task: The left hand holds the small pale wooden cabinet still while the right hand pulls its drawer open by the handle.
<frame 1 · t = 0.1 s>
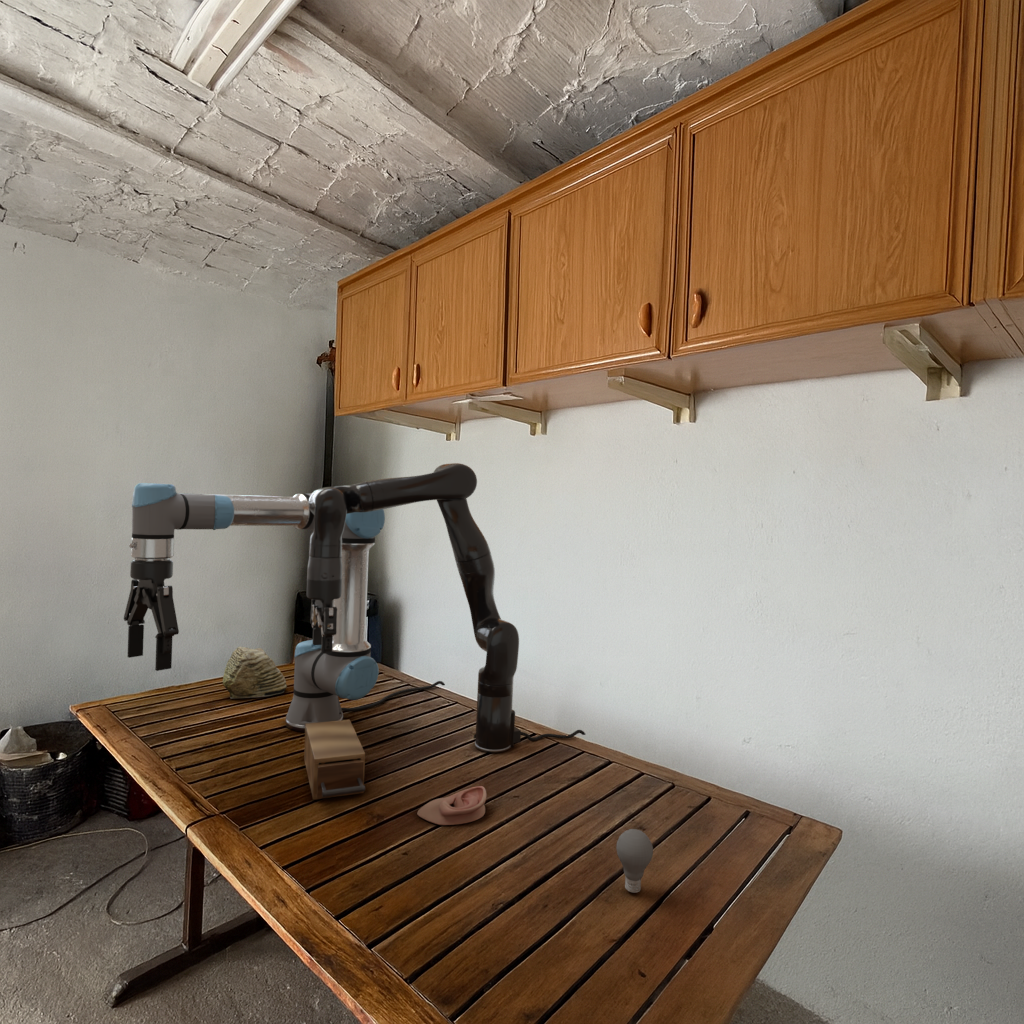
left hand: (148, 662, 129), 28 cm above the table, tool pointing down, fingers open, 13 cm apart
right hand: (322, 648, 142), 29 cm above the table, tool pointing down, fingers open, 8 cm apart
fossil: (254, 694, 198), on the table
drawer: (335, 765, 140), point 4 cm above the table, slide at 0.7 cm
cabinet: (332, 774, 144), on the table
anatomical model: (452, 813, 129), on the table
light bulb: (632, 891, 106), on the table
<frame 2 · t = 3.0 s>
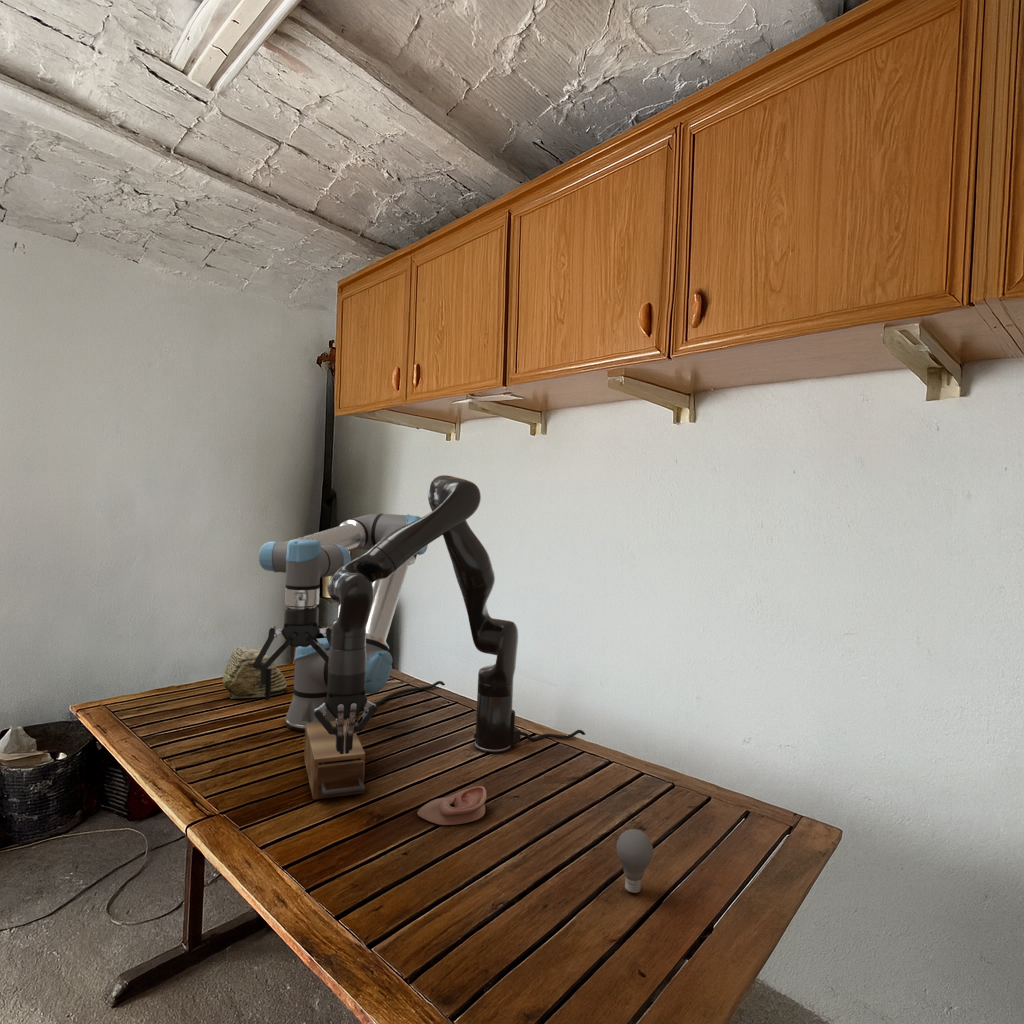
left hand: (298, 697, 147), 16 cm above the table, tool pointing down, fingers open, 13 cm apart
right hand: (343, 752, 130), 11 cm above the table, tool pointing down, fingers closed
nothing on the table moved.
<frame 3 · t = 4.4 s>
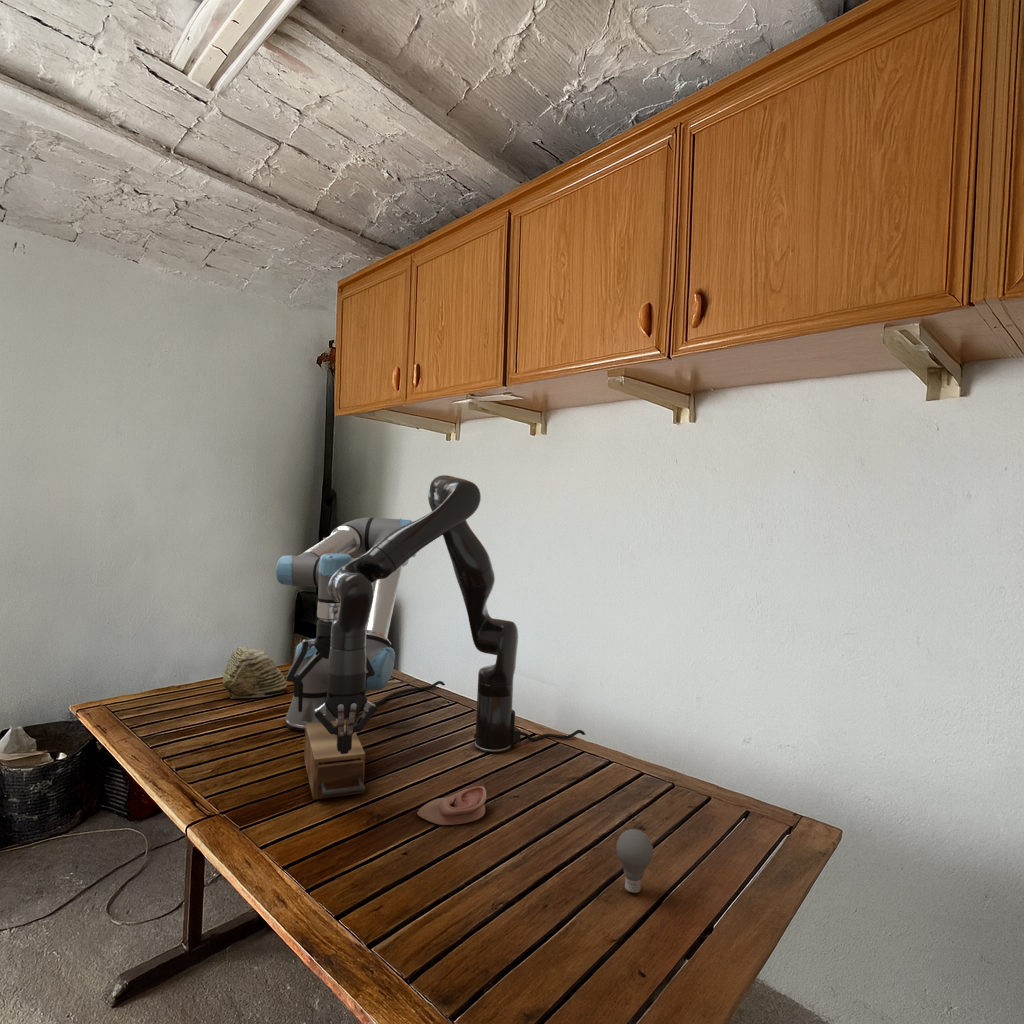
left hand: (329, 707, 151), 13 cm above the table, tool pointing down, fingers open, 13 cm apart
right hand: (343, 752, 130), 11 cm above the table, tool pointing down, fingers closed
nothing on the table moved.
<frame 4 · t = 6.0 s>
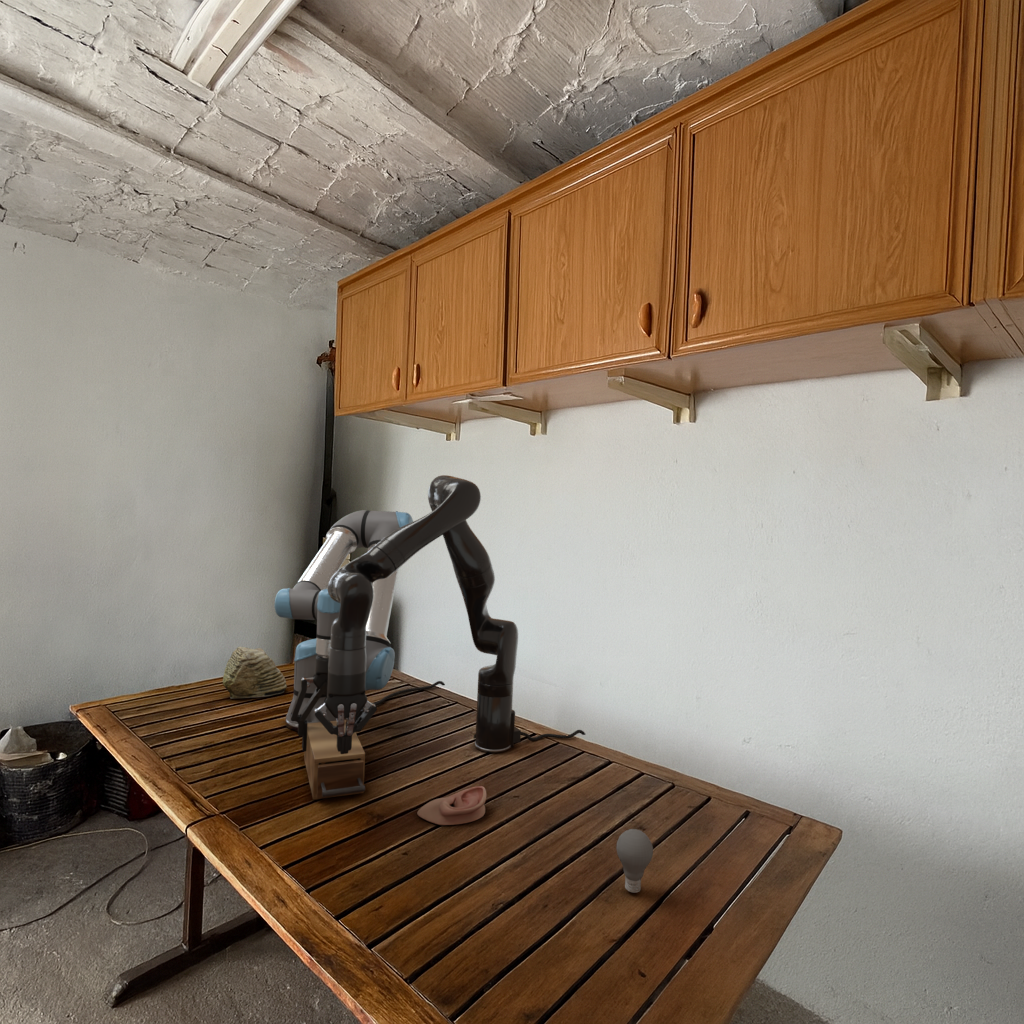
left hand: (328, 746, 151), 4 cm above the table, tool pointing down, fingers closed on cabinet, 10 cm apart
right hand: (343, 752, 130), 11 cm above the table, tool pointing down, fingers closed
cabinet: (332, 774, 144), on the table, touching left hand
everything else where it was.
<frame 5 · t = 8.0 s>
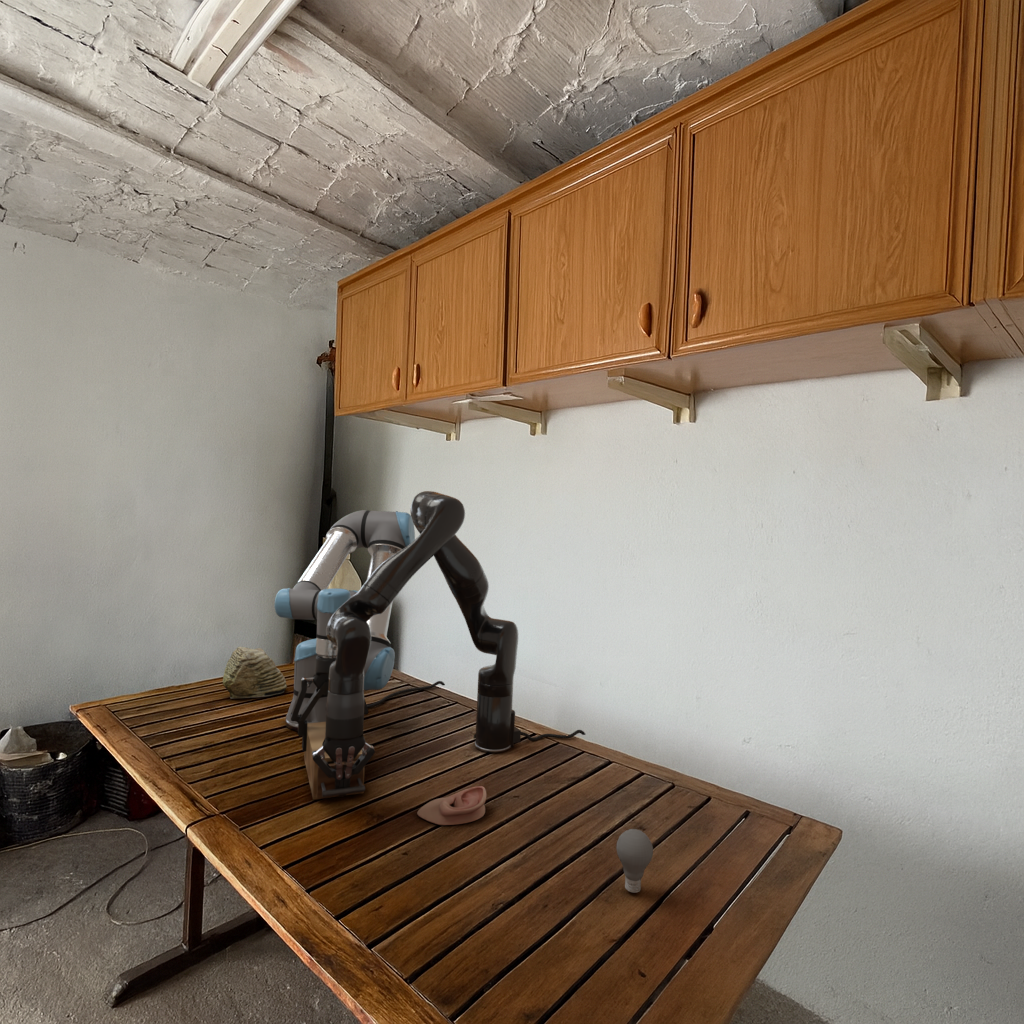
left hand: (328, 746, 151), 4 cm above the table, tool pointing down, fingers closed on cabinet, 10 cm apart
right hand: (342, 794, 130), 3 cm above the table, tool pointing down, fingers closed
drawer: (335, 765, 140), point 4 cm above the table, slide at 0.7 cm, touching right hand
cabinet: (332, 774, 144), on the table, touching left hand
everything else where it was.
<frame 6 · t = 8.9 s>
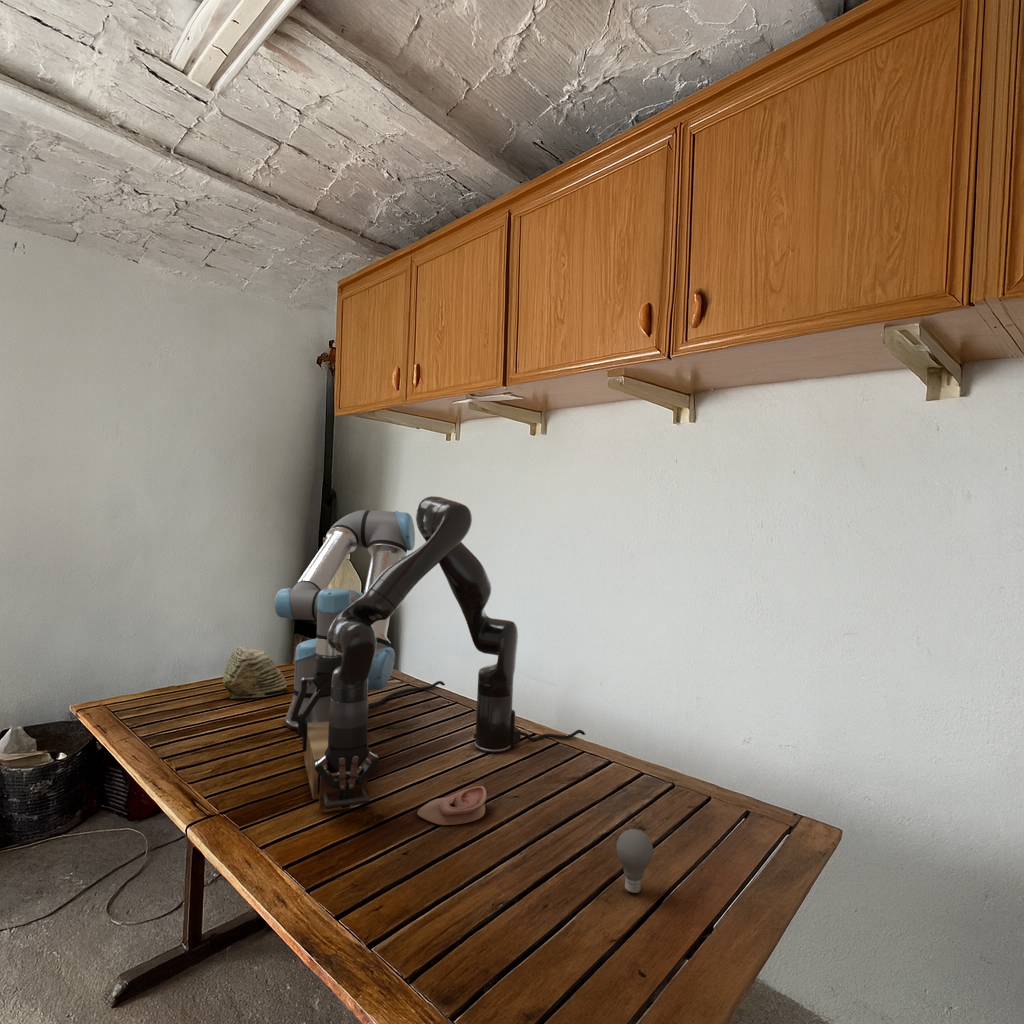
left hand: (328, 746, 151), 4 cm above the table, tool pointing down, fingers closed on cabinet, 10 cm apart
right hand: (345, 805, 125), 3 cm above the table, tool pointing down, fingers closed
drawer: (338, 774, 135), point 4 cm above the table, slide at 5.5 cm, touching right hand
cabinet: (332, 774, 144), on the table, touching left hand
everything else where it was.
when the left hand's fingers open (4 cm above the table, at t = 10.8 s): cabinet stays where it is, on the table.
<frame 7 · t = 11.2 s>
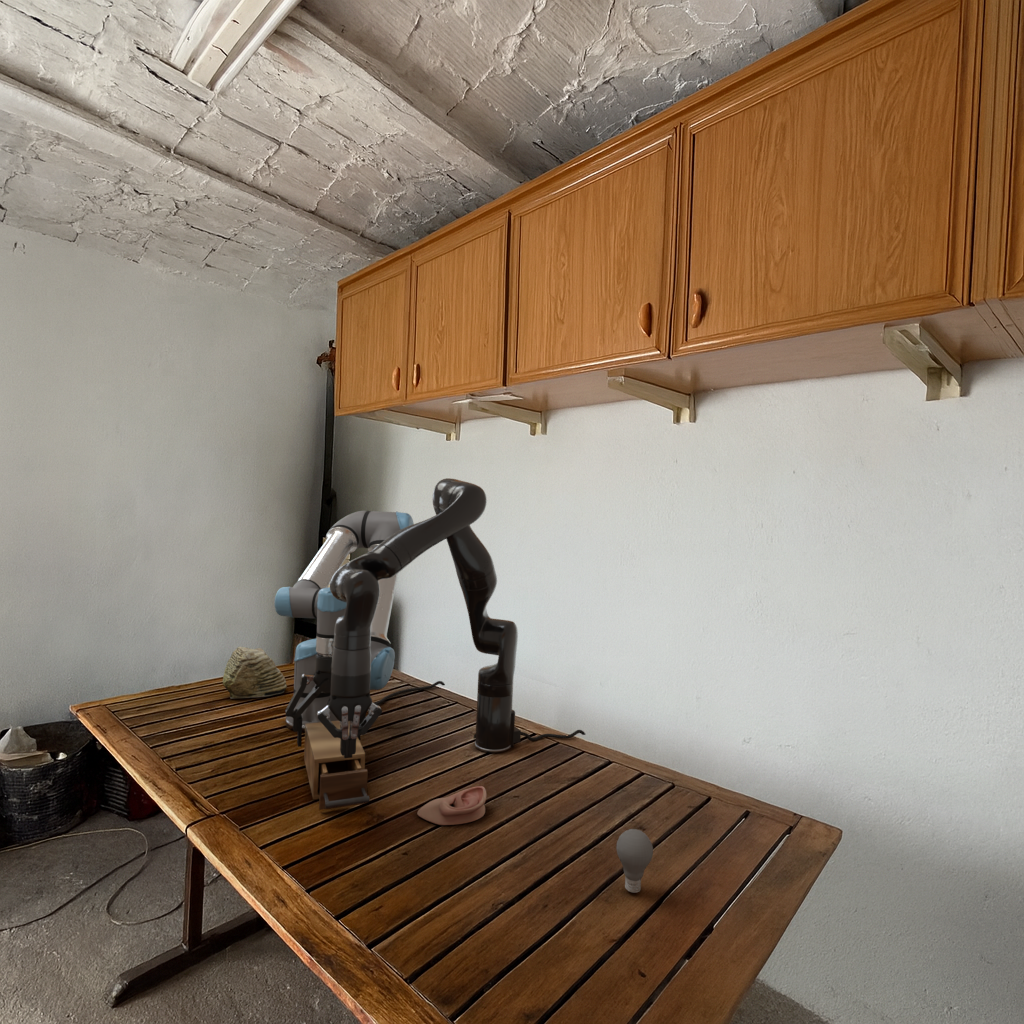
left hand: (329, 741, 151), 5 cm above the table, tool pointing down, fingers open, 13 cm apart
right hand: (347, 756, 125), 13 cm above the table, tool pointing down, fingers closed
drawer: (338, 774, 135), point 4 cm above the table, slide at 5.5 cm
cabinet: (332, 775, 144), on the table
everything else where it was.
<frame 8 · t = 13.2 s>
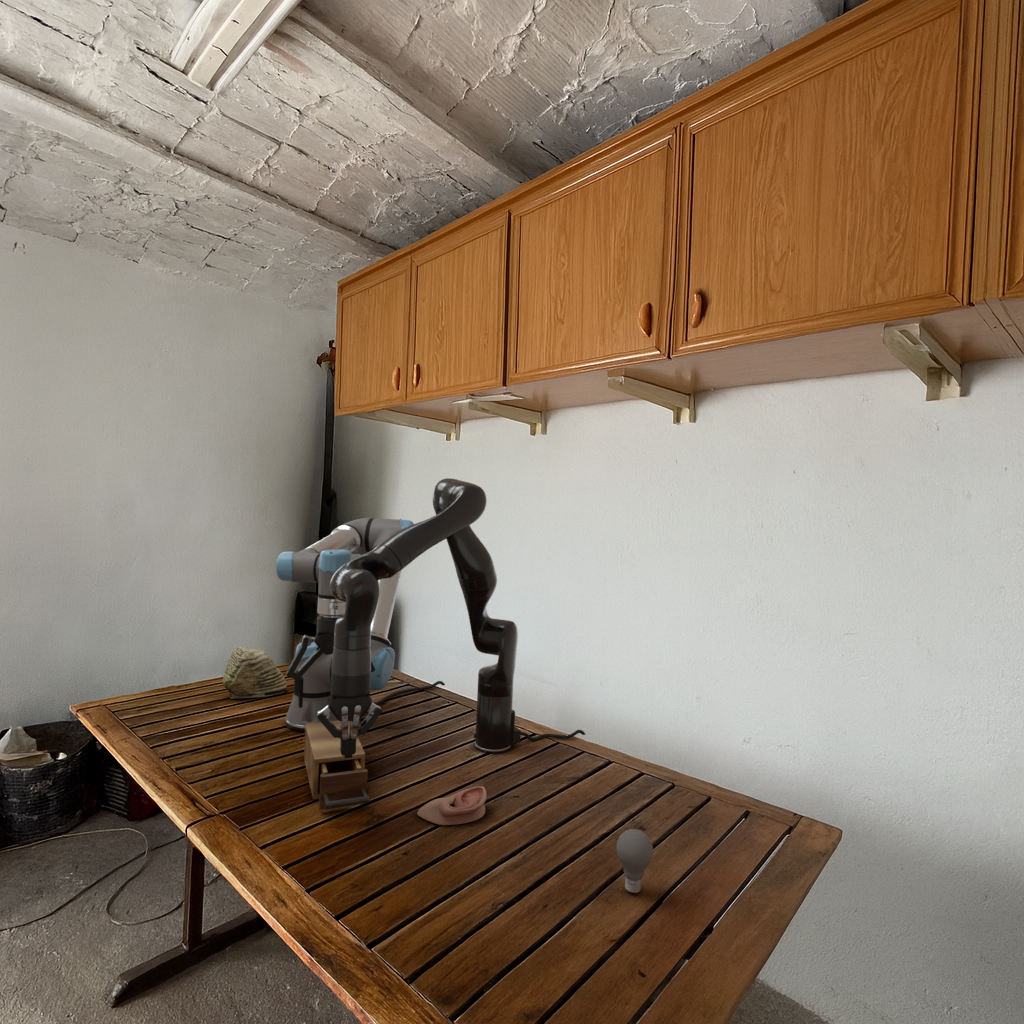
left hand: (330, 703, 151), 14 cm above the table, tool pointing down, fingers open, 13 cm apart
right hand: (347, 756, 125), 13 cm above the table, tool pointing down, fingers closed
nothing on the table moved.
at the end: drawer slide at 5.5 cm; cabinet tilted 0°; cabinet never tilted more than 1° during the clip; cabinet moved 0.0 cm from its start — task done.
